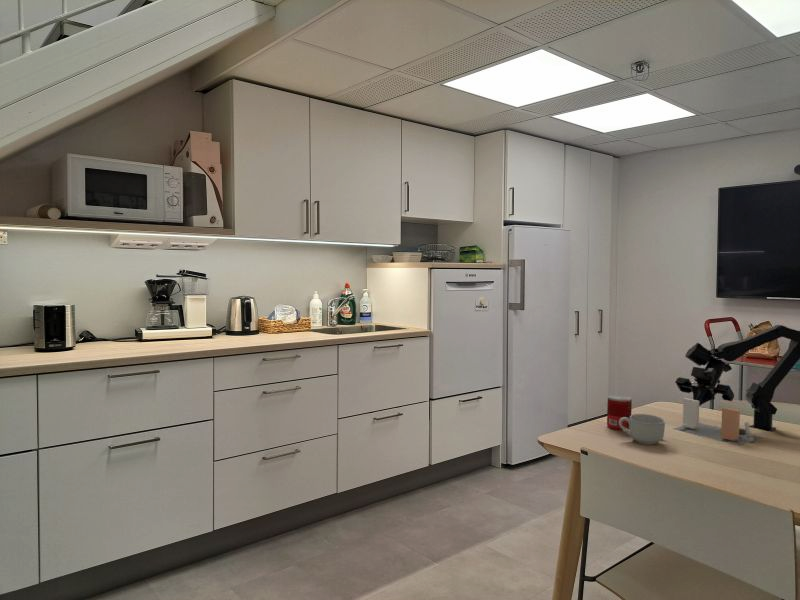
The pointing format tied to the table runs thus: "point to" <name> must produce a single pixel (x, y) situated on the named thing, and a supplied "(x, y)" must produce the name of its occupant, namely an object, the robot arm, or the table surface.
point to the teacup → (645, 428)
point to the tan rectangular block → (730, 424)
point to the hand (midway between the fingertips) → (694, 407)
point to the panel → (716, 433)
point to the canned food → (618, 411)
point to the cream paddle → (690, 413)
